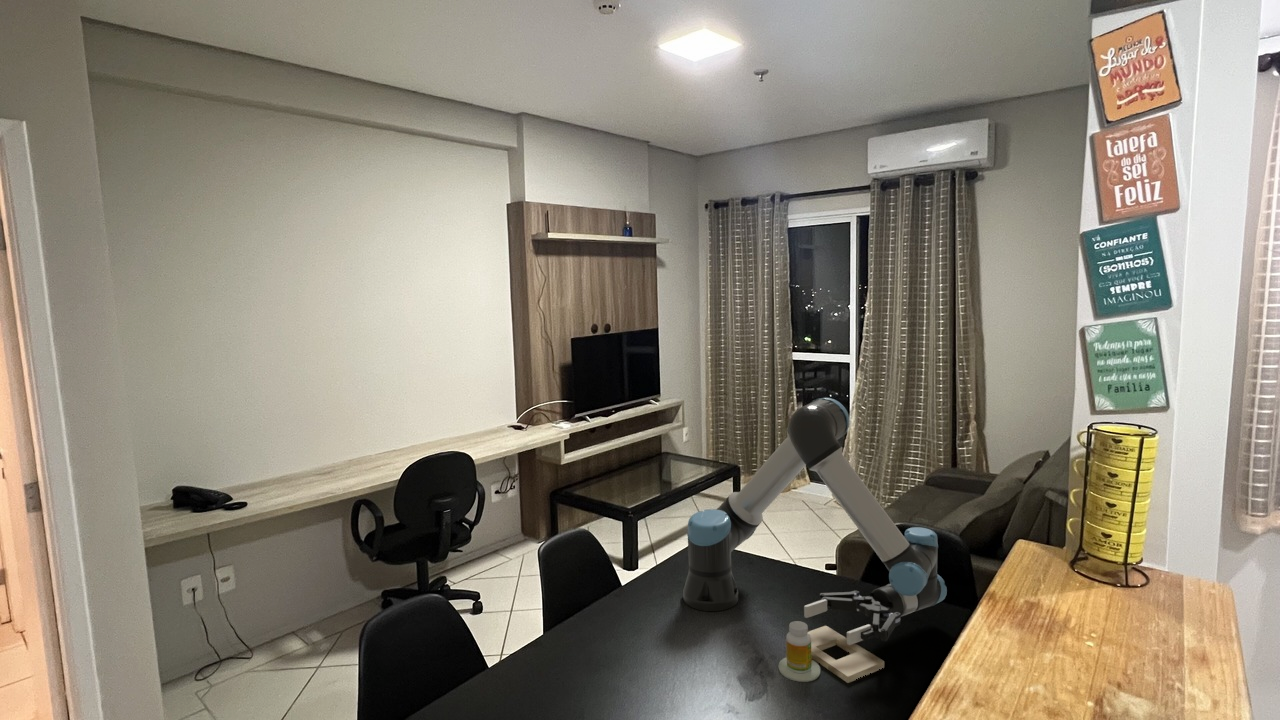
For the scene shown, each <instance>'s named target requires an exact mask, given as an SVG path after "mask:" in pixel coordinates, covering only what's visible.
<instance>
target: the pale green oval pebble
mask: <svg viewBox="0 0 1280 720" xmlns="http://www.w3.org/2000/svg"><path fill="white" fill-rule="evenodd" d="M811 661H812V667H811V670H810V671H809V672H806V673H796V672H793V671H791V670H790V669H789V668H788V667H787V656H785V657H783V658H782V659H780V661H779V663H778V671H779V673H780V675H782V676H783V677H784V678H786V679H787V680H789V681H794V682H798V683H808V682H814V681H815V680H817V679H818V678H819V677H820V676H821V666H820V665H819V663H818V662H817V661H815V660H814V659H812V658H811Z"/></svg>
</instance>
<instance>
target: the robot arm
mask: <svg viewBox="0 0 1280 720" xmlns="http://www.w3.org/2000/svg"><path fill="white" fill-rule="evenodd" d="M849 427H850V415H849V412H848V410H847V408H846V407H845V406H844V405H843V404H842V403H841V402H840V401H838V400H836V399H834V398H831V397H821V398H816V399H814V400H811V402H810V403H808V404H806V405H803V406H801V407H799V408H798V409H796V410H795V411H794V412H793V413H792V415H791V416H790V419H789V421H788V426H787V428H786V435H787V437H786V438H785V439H784V440H783V441H782V442H781V444H780V445H779V446H778V447H777V448H776V449H775V451H774V452H773V453H772V454H771V455H770V456H769V458H767V459H766V460H765V462H764V463H763V464H762V465H761V467H759V469H758V470H757V471H756V472H755V474H754V475H753V476H752V477H751V478H750V479H749V480H748V481H747V483H746V484H745V485H744V486H743V487H742V489H740V491H733V492H731V493H730V494H729V495H728V496H727V497H726V499H725V500H724V501H723V502H722V503H721V504H720V505H719V507H717V509H716V508H711V509H704V510H700V511H697V512H695V513H694V514H692V515H691V516H690V517H689V519H688V522H687V529H686V534H687V553H688V554H687V555H688V573H687V576H686V580H685V584H684V587H683V590H682V593H683V594H682V595H683V597H682V598H683V602H684V603H685V604H686V605H687V606H689V607H691V608H692V609H695V610H700V611H702V612H703V611H704V612H721V611H725V610H728V609H730V608H731V609H732V607H734V606H736V604H737V603H738V602H739V589H738V586H737V583H736V581H735V578H734V574H733V572H732V552H733V551H734V550H735V549H736V548H738V547H739V546H740V545H741V544H742V543H744V542H745V541H747V540H749V538H751V537H752V536H753V534H755V531H756V530H757V528H758V526H760V525H761V524H762V522H763V520H764V518H763V517H764V516H763V513H764V512H765V511H766V510H767V509H768V507H770V505H771V504H772V503H773V502H774V501H775V500H776V499H777V498H778V497H779V495H780V494H781V493H782V492H783V491H785V489H786V488H787V486H788V485H790V483H791V482H792V481H793V480H794V479H795V478H796V477H797V476H798V475H799V474H800V473H801V471H802V470H803V469H804V468H805V467H807V468H808V470H809V471H813V472H815V473H817V474H818V476H819V478H820V479H821V480H822V482H823V483H824V484H825V485H826V487H827V488H828V490H829V491H830V493H831V494H832V495H833V497H834V498H835V500H837V503H839V505H840V507H841V508H842V509H843V510H844V511H845V513H846V514H847V516H848V518H849V519H850V520H851V521H852V522H853V524H854V525H855V526H856V528H857V530H858V531H859V532H860V534H862V536H863V537H864V539H865V540H866V542H867V543H868V544H869V546H870V547H871V549H872V550H873V551H874V553H876V556H877V557H878V558H879V559H880V560H881V562H882V563H883V564H884V565H885V567H886V569H887V570H888V572H889V573H888V580H889V583H888V584H886V585H883V586H881V587H878V588H875V589H873V590H872V591H871V592H870V593H869V595H866V596H862V595H860V591H858V590H852V591H844V592H842V591H841V592H838V591H837V592H820V593H819V600H816V601H813V602H811V603H808V604H806V605H803V614H804V615H803V618H806V619H808V618H810V617H811V618H812V617H813V616H816V615H820V614H822V613H823V614H824V613H825V612H827V611H828V610H836V611H837V610H840V611H852V613H855V614H861V615H864V616H866V617H867V618H869V619H872V625H871V624H869V623H868V624H866V625H862V626H860V627H857V628H854V629H851V630H849V631H847V632H846V638H847V644H848V645H852V644H854V643H855V644H857V643H859V642H863V641H867V640H871V639H879V638H880V640H881V641H882V642H888V639H889V638H890V636H891V635H892V633H893V632H894V631H895V628H896V627H898V626H900V625H901V617H905V616H907V615H909V614H913V613H914V612H917V611H918V612H919V611H920V610H921V611H922V610H924V609H927V608H930V607H933V606H935V605H937V604H938V603H940V602H943V601H944V600H945V599H946V596H947V592H948V589H947V586H946V583H945V580H944V579H943V578H942V576H940V575H939V574H938V549H939V544H938V534H937V533H936V532H935V531H934V530H933V529H932V530H931V529H930V528H926V527H919V526H918V527H917V526H912V527H910V528H909V527H908V528H907V529H905V531H904V535H903V533H902V531H900V529H899V528H898V526H896V524H895V523H894V521H893V519H892V518H891V517H890V515H888V513H887V511H886V510H885V509H884V508H883V507H882V506H881V504H880V502H879V501H878V500H877V499H876V497H875V496H874V494H873V493H872V492H871V490H870V489H869V488H868V487H867V485H866V484H865V482H864V481H863V479H861V477H860V476H859V475H858V474H857V472H856V471H855V469H854V467H853V466H852V465H851V464H850V463H849V461H848V460H847V459H846V457H845V456H844V455H843V446H842V445H841V443H840V442H839V440H840V439H841V438H843V437H844V436H845V435H846V433H847V431H848V429H849ZM857 603H858V605H857ZM857 607H858V608H857ZM881 621H885V622H884V623H883V625H882V627H881V628H880V623H881Z"/></svg>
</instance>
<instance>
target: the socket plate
mask: <svg viewBox="0 0 1280 720" xmlns="http://www.w3.org/2000/svg"><path fill="white" fill-rule="evenodd" d="M808 634H809V635H810V636H811V659H812V660H813V661H815V662H816V663H817V664H819V663H820V665H821V666H822V667H824V668H826V669H827V670H828V671H830V673H833V674H834V675H835V676H836V677H838V678H840V679H841V680H842V681H844V682H845V683H847V684H849V683H852V682H854V681H857V680H859V679H861V678H863V676H864V677H866V676H869V675H870V673H871V674H873V673H876V672H877V671H880V670H883V669H884V668H885V661H884V660H883V659H881V658H880V657H878V656H876V655H875V654H874V653H871V651H868V650H866V649H865V648H864V647H862V646H860V645H858V644H857V643H854V644H852V645H848V644H847V637H846V636H844V635H842V634H840V633H839V632H837V631H836V630H834V629H833V628H831V627H829V626H827V625H823V626H820V627H818V628H814V629H812V630H808ZM835 646H837V647H839V648H841V649H842V650H844V651H845V652H846V653H848V652H849V653H848V654H847V655H846V656H843V657H841V658H838V659H835V658H834V657H832V656H830V655H829V654H827V653H826V652H824V650H826V649H830V648H832V647H835ZM882 668H883V669H882ZM879 669H880V670H879ZM865 675H866V676H865ZM860 677H861V678H860ZM858 678H859V679H858ZM856 679H857V680H856Z"/></svg>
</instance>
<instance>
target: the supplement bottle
mask: <svg viewBox="0 0 1280 720" xmlns="http://www.w3.org/2000/svg"><path fill="white" fill-rule="evenodd" d="M788 625H789V626H788V629H789V630H788V632H787V634H786V636H785V637H786V641H785V643H786V645H785V646H786V649H785V650H786V657H787V667H788V668H789V669H790V670H791V671H793V672H796V673H806V672H809V671H810V670H811V667H812V661H811V659H812V658H811V636H810V635H809V634H808V632H809V627H808V624H807V623H806V622H804V621H800V620H795V621H791V622H790V623H789V624H788Z"/></svg>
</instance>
